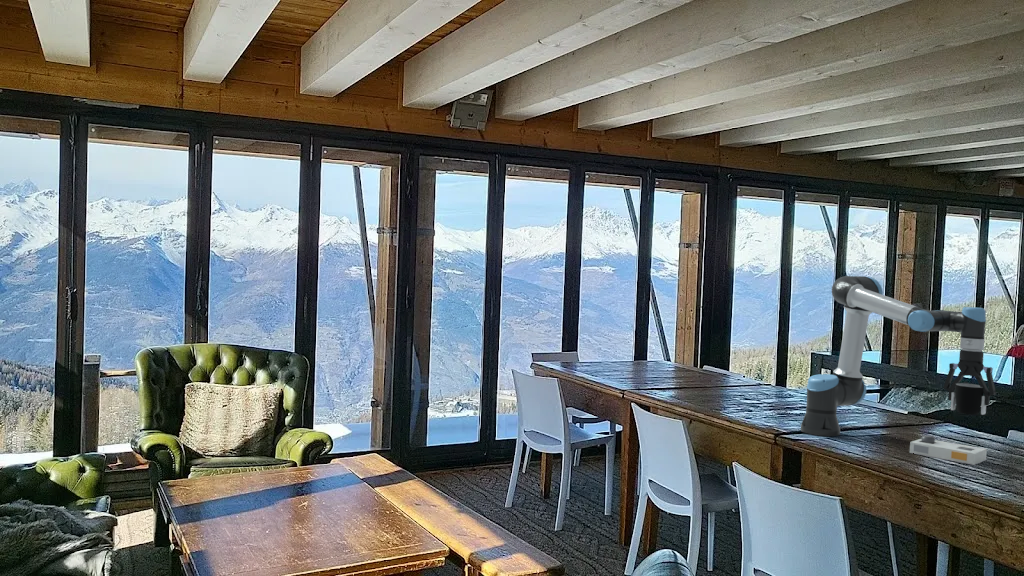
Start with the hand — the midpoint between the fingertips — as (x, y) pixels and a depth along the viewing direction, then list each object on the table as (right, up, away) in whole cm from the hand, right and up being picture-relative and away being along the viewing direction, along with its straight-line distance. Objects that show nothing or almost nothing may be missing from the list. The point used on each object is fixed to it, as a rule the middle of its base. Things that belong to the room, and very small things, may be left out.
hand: (967, 411), depth 305 cm
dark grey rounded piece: (-10, -14, +10) cm, 19 cm away
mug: (-1, 0, +1) cm, 1 cm away
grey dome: (-1, -16, +1) cm, 17 cm away
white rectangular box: (-5, -17, +5) cm, 18 cm away
